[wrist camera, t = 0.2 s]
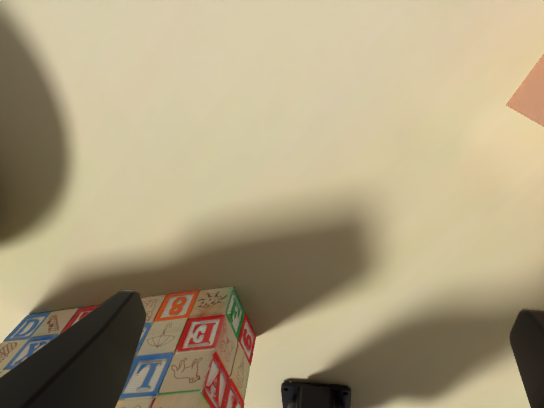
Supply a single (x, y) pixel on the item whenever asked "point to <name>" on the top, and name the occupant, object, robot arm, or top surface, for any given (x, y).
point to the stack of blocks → (166, 349)
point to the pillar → (531, 95)
